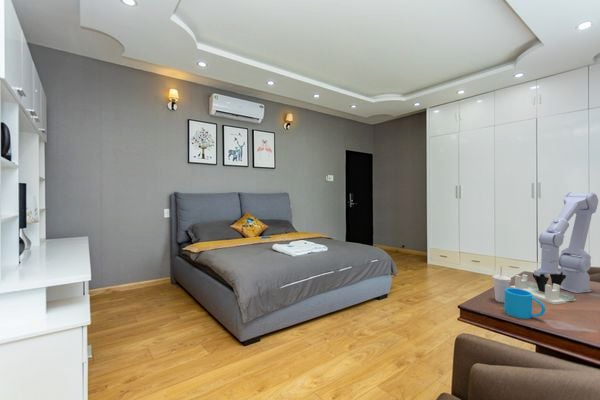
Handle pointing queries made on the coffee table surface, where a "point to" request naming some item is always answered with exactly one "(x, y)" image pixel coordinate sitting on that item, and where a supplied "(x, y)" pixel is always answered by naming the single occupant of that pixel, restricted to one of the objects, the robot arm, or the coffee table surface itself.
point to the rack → (549, 295)
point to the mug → (520, 303)
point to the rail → (562, 294)
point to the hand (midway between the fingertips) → (548, 290)
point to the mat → (559, 298)
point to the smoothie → (500, 286)
